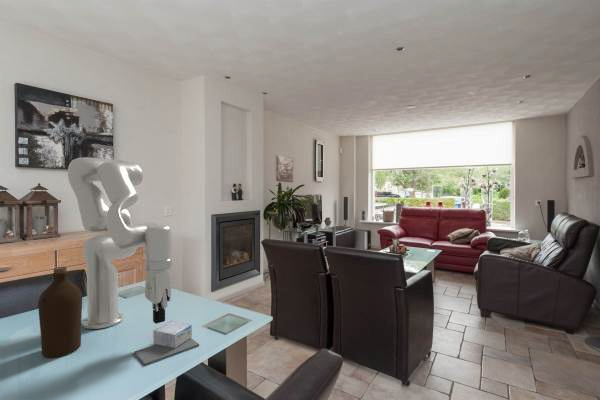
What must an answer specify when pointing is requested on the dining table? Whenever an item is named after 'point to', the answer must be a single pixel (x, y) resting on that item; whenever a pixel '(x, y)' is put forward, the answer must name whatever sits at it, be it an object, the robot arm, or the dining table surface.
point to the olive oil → (60, 316)
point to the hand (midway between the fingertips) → (159, 321)
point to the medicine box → (172, 334)
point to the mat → (162, 351)
